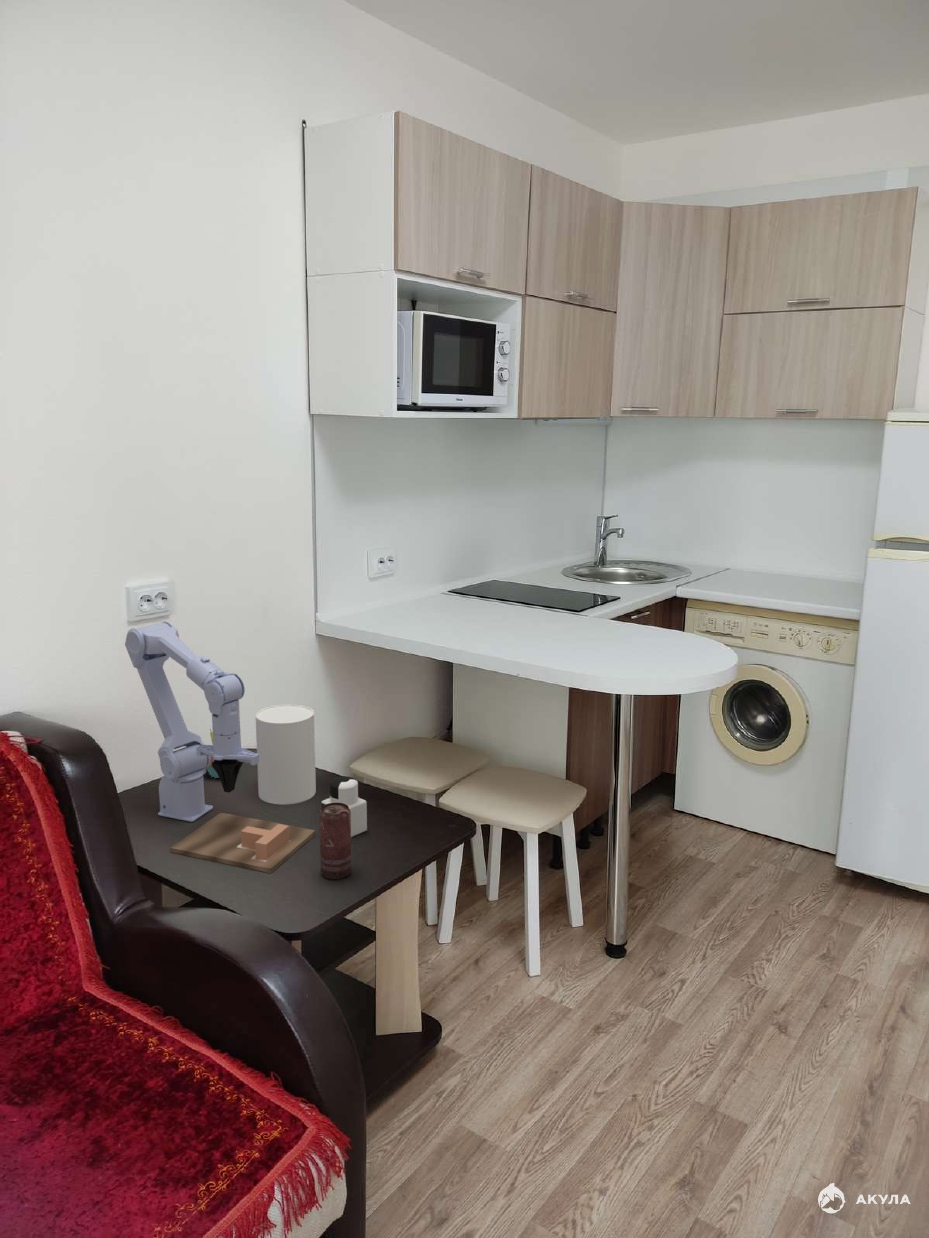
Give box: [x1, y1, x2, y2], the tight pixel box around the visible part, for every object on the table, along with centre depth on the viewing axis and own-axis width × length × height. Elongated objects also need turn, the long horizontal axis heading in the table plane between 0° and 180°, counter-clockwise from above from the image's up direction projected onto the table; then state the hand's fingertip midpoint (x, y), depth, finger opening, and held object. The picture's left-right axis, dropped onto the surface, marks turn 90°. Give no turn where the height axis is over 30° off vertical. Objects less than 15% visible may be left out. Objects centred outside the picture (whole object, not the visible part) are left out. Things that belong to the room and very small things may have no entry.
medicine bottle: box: [321, 775, 368, 838], centre depth 197 cm, size 7×7×12 cm
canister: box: [255, 703, 317, 806], centre depth 215 cm, size 14×14×20 cm
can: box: [318, 803, 352, 880], centre depth 179 cm, size 6×6×14 cm
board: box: [169, 812, 316, 874], centre depth 192 cm, size 24×18×1 cm
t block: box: [241, 823, 289, 860], centre depth 188 cm, size 8×9×4 cm
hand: (229, 790), depth 196 cm, fingers closed
